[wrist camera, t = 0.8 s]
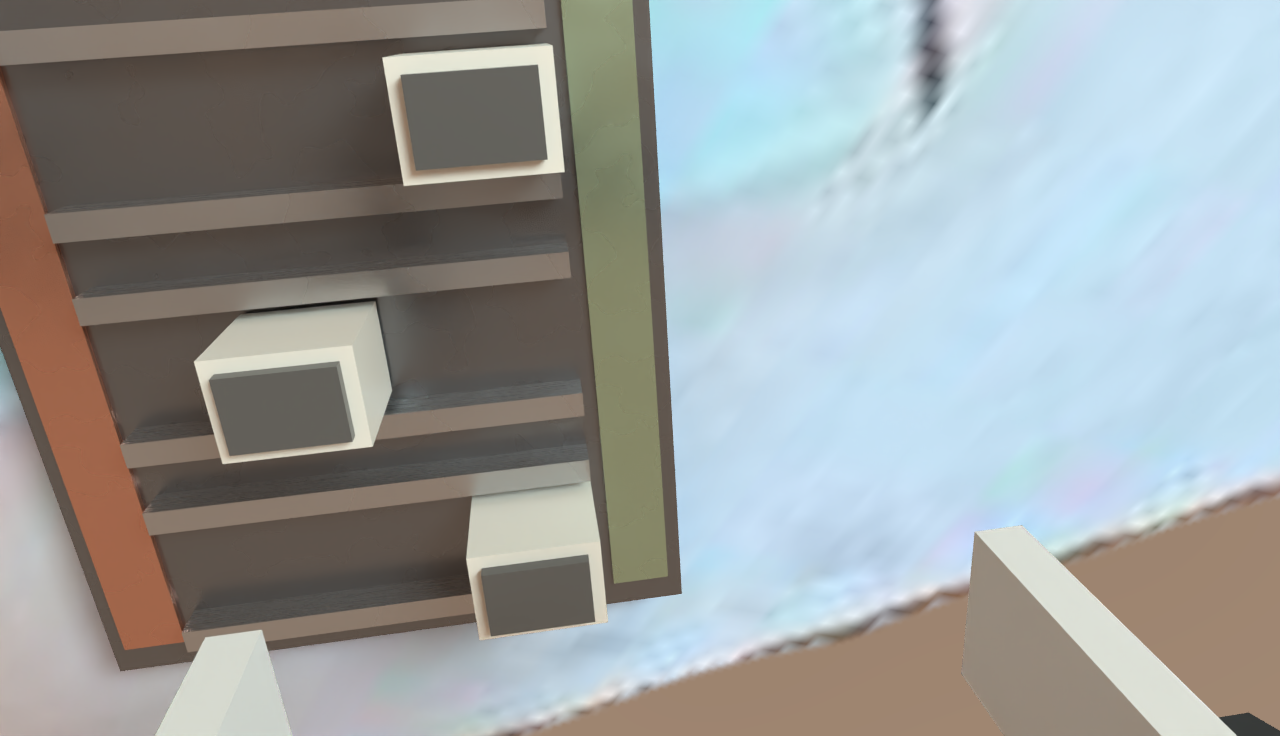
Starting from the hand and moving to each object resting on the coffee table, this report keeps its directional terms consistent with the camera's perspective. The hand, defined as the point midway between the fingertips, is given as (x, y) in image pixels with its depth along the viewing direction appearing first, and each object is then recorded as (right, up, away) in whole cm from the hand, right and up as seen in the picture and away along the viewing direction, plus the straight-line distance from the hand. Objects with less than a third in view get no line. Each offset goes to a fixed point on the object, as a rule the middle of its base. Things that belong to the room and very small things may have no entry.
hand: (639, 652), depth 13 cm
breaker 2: (-5, +12, +12) cm, 17 cm away
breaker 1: (-10, +5, +14) cm, 18 cm away
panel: (-9, +6, +16) cm, 19 cm away
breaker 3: (-4, -1, +17) cm, 17 cm away
